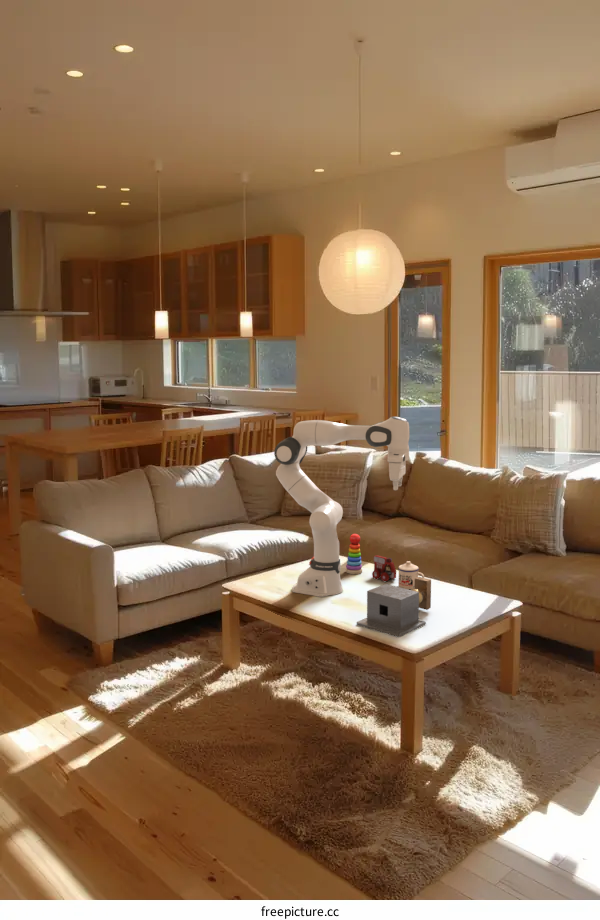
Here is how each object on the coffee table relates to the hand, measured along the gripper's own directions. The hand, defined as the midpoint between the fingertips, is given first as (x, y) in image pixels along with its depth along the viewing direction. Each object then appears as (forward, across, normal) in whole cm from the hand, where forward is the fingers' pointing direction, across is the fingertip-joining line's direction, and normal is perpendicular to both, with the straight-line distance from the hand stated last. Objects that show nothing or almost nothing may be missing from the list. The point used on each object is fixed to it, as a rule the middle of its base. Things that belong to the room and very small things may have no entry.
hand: (397, 488), depth 343 cm
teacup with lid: (+48, -16, +5) cm, 51 cm away
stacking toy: (+48, -32, -25) cm, 63 cm away
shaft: (+47, +22, +9) cm, 52 cm away
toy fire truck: (+48, -26, -9) cm, 55 cm away
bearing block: (+48, +32, +4) cm, 58 cm away
